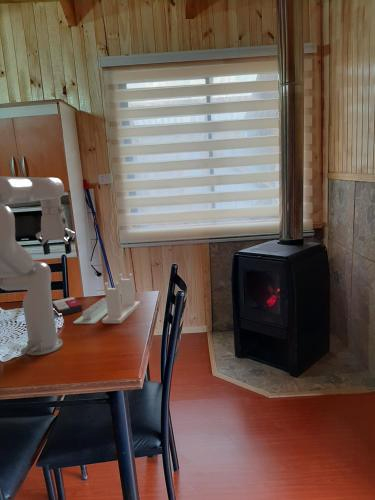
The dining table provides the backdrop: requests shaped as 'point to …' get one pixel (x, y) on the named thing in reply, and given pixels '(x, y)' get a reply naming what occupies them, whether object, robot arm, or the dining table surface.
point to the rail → (95, 309)
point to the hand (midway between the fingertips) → (57, 253)
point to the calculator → (67, 306)
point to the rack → (113, 300)
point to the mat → (92, 321)
